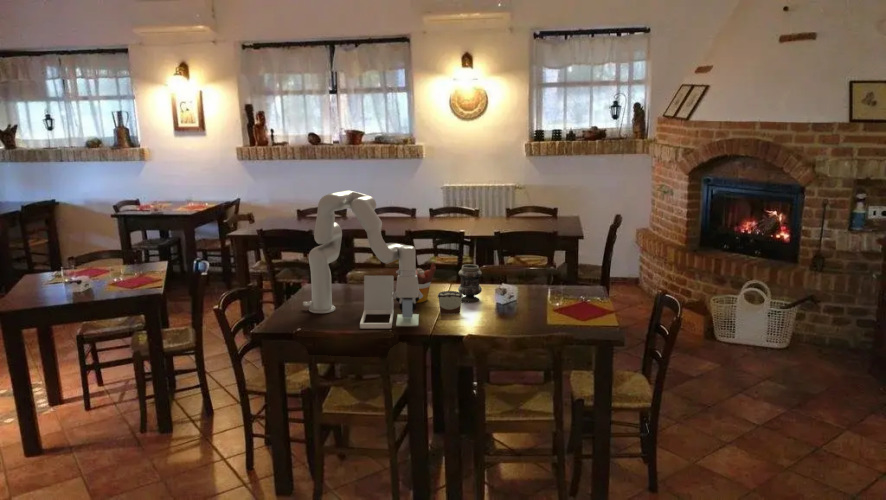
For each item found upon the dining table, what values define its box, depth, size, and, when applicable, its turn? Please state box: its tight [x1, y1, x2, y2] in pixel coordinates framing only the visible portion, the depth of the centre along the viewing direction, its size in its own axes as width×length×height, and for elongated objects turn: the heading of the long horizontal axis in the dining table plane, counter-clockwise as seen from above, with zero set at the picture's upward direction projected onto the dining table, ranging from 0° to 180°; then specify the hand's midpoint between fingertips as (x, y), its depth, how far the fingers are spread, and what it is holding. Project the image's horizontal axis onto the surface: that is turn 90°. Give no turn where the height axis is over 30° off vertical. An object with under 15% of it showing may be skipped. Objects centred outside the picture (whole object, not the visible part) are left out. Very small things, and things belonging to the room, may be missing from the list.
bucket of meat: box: [398, 262, 437, 304], centre depth 347 cm, size 20×16×20 cm
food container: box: [437, 290, 464, 315], centre depth 328 cm, size 12×6×10 cm, turn 92°
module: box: [401, 298, 414, 318], centre depth 315 cm, size 4×9×8 cm, turn 1°
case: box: [359, 275, 395, 329], centre depth 316 cm, size 14×26×18 cm, turn 1°
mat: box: [395, 313, 420, 327], centre depth 316 cm, size 10×16×1 cm, turn 1°
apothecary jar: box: [457, 264, 483, 304], centre depth 348 cm, size 12×12×18 cm
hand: (407, 310), depth 315 cm, fingers closed on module, 4 cm apart
